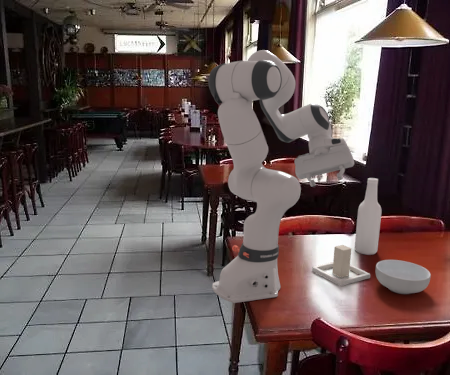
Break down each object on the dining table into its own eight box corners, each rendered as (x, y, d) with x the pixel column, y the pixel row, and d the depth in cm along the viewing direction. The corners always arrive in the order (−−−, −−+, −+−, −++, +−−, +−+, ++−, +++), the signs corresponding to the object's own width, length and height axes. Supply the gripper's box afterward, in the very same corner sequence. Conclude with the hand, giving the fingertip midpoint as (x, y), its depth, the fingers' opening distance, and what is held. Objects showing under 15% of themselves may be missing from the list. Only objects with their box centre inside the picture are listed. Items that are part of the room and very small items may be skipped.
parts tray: (340, 286, 144) (341, 281, 144) (312, 270, 156) (312, 266, 156) (369, 277, 151) (370, 273, 151) (340, 263, 163) (340, 260, 163)
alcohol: (349, 250, 177) (356, 177, 171) (363, 245, 183) (370, 175, 176) (368, 256, 171) (376, 181, 164) (381, 252, 176) (389, 179, 169)
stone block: (340, 277, 151) (343, 250, 149) (332, 273, 154) (334, 246, 152) (348, 275, 153) (351, 248, 151) (340, 271, 156) (342, 244, 154)
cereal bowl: (425, 306, 132) (428, 284, 131) (369, 292, 140) (371, 272, 138) (430, 285, 147) (432, 265, 145) (378, 274, 155) (380, 255, 153)
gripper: (291, 152, 157) (294, 185, 150) (348, 137, 149) (354, 170, 142) (296, 161, 162) (299, 193, 154) (352, 147, 154) (358, 179, 146)
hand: (326, 182), depth 148 cm, fingers open, 8 cm apart
